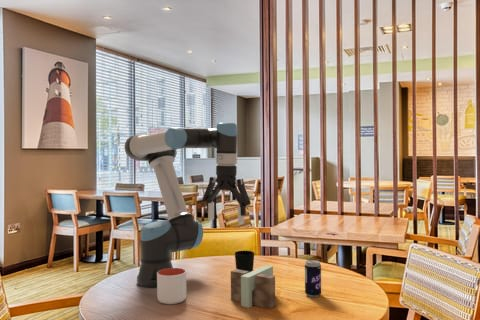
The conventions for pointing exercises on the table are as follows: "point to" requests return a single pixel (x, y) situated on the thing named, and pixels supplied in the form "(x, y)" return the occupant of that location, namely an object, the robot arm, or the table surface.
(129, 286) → the table surface
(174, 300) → the cup
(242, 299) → the sage plate
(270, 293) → the walnut stand
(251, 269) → the cup
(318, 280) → the beverage can
